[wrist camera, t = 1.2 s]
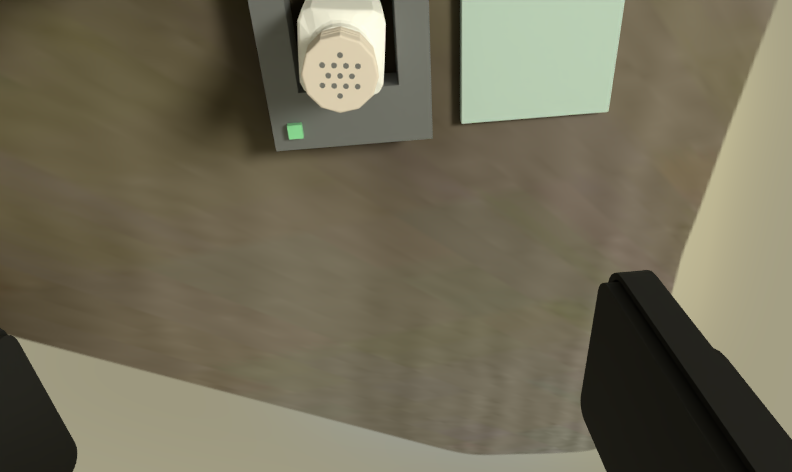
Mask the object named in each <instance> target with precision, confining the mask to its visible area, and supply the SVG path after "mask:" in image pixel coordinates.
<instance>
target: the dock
mask: <svg viewBox="0 0 792 472" xmlns="http://www.w3.org/2000/svg"><path fill="white" fill-rule="evenodd" d="M248 4H249V10H250V15H251V20H252V25H253V31H254V36H255V41H256V46H257V52H258V57H259V62H260V68H261V73H262V78H263V83H264V89H265V94H266V99H267V104H268V110H269V115H270V120H271V126H272V131H273V136H274V141H275V147H276V151H286V150H298V149H311V148H323V147H335V146H347V145H359V144H371V143H384V142H396V141H408V140H420V139H432V138H433V136H432V100H431V63H430V27H429V0H392V12H393V29H394V45H395V62H396V72H393V73H384V82H383V86H382V88H381V90H380V92H379V93H377V94H375V95H373V96H372V97H371V98H370V99H369V100H368V101H367V102H366V103H365V104H364V105H362V106H361V107H360V108H359V109H355V110H351V111H347V112H342V113H339V112H335V111H332V110H328V109H325V108H321V107H320V106H319V105H318V104H317V103H316V102H315V101H314V100H313V99H312V98H311V97H310V96H309V95H308V94H307V93H306V91H305V90H304V89H303V87H302V85H301V83H300V78H299V62H298V52H297V45H296V38H295V32H294V25H293V19H292V12H291V6H290V0H248Z"/></svg>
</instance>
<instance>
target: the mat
mask: <svg viewBox="0 0 792 472" xmlns="http://www.w3.org/2000/svg"><path fill="white" fill-rule="evenodd" d="M624 2H625V0H460V121H461V123H462V124H465V123H477V122H489V121H502V120H514V119H526V118H538V117H551V116H563V115H575V114H587V113H600V112H608V111H609V104H610V97H611V90H612V84H613V77H614V70H615V63H616V57H617V50H618V43H619V36H620V29H621V23H622V16H623V9H624Z"/></svg>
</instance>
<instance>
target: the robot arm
mask: <svg viewBox="0 0 792 472" xmlns="http://www.w3.org/2000/svg"><path fill="white" fill-rule="evenodd" d="M581 410H582V414H583V418H584V421H585V423H586V425H587V428H588V430H589V432H590V435H591V437H592V439H593V441H594V444H595V446H596V448H597V451H598V453H599V455H600V458H601V460H602V462H603V464H604V467H605V469H606V471H607V472H792V439H791V438H790V437H789V436H788V435H787V433H786V432H785V431H784V430H783V428H782V427H781V426H780V424H779V423H778V422H777V421H776V419H775V418H774V417H773V415H772V414H771V413H770V412H769V411H768V409H767V408H766V407H765V405H764V404H763V403H762V402H761V400H760V399H759V398H758V397H757V395H756V394H755V393H754V392H753V391H752V389H751V388H750V387H749V386H748V384H747V383H746V382H745V380H744V379H743V378H742V377H741V375H740V374H739V373H738V372H737V370H736V369H735V368H734V367H733V365H732V364H731V363H730V362H729V360H728V359H727V358H726V357H725V356H724V355H723V354H722V353H721V352H720V351H718V350H716V349H714V348H713V347H712V346H711V345H710V344H709V342H708V341H707V340H706V339H705V337H704V336H703V335H702V333H701V332H700V331H699V330H698V328H697V327H696V326H695V324H694V323H693V322H692V321H691V319H690V318H689V317H688V315H687V314H686V313H685V312H684V310H683V309H682V308H681V307H680V305H679V304H678V303H677V301H676V300H675V299H674V298H673V296H672V295H671V294H670V293H669V291H668V290H667V289H666V287H665V286H664V285H663V284H662V282H661V281H660V280H659V278H658V277H657V276H656V275H655V274H654V273H653V272H652V271H649V270H643V271H632V272H620V273H614V274H612V275H611V277H610V278H609V282H608V283H602V284H601V285H600V286H599V289H598V295H597V301H596V307H595V313H594V319H593V325H592V331H591V337H590V344H589V350H588V356H587V362H586V368H585V374H584V380H583V387H582V393H581ZM76 460H77V447H76V444H75V442H74V440H73V438H72V437H71V435H70V433H69V431H68V430H67V428H66V426H65V424H64V422H63V421H62V419H61V417H60V415H59V413H58V412H57V410H56V408H55V406H54V405H53V403H52V401H51V399H50V397H49V396H48V394H47V392H46V390H45V388H44V387H43V385H42V383H41V381H40V379H39V378H38V376H37V374H36V372H35V371H34V369H33V367H32V365H31V363H30V362H29V360H28V358H27V356H26V354H25V353H24V351H23V349H22V347H21V345H20V344H19V342H18V341H17V339H16V338H15V337H13V336H11V335H8V334H7V333H6V332H5V331H4V330H2V329H1V328H0V472H72V471H73V469H74V467H75V464H76Z"/></svg>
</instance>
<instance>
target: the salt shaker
mask: <svg viewBox="0 0 792 472" xmlns="http://www.w3.org/2000/svg"><path fill="white" fill-rule="evenodd" d="M385 33H386V23H385V18H384V14H383V9H382V5H381V1H380V0H305V2H304V4H303V6H302V9H301V11H300V14H299V17H298V19H297V35H298V62H299V78H300V83H301V85H302V87H303V89H304V90H305V91H306V93H307V94H308V95H309V96H310V97H311V98H312V99H313V100H314V101H315V102H316V103H317V104H318V105H319V106H320V107H321V108H325V109H328V110H332V111H335V112H339V113H342V112H347V111H351V110H355V109H359V108H360V107H361V106H362V105H364V104H365V103H366V102H367V101H368V100H369V99H370V98H371V97H372V96H373V95H375V94H377V93H379V92H380V90H381V88H382V86H383V82H384V62H385Z"/></svg>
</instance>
